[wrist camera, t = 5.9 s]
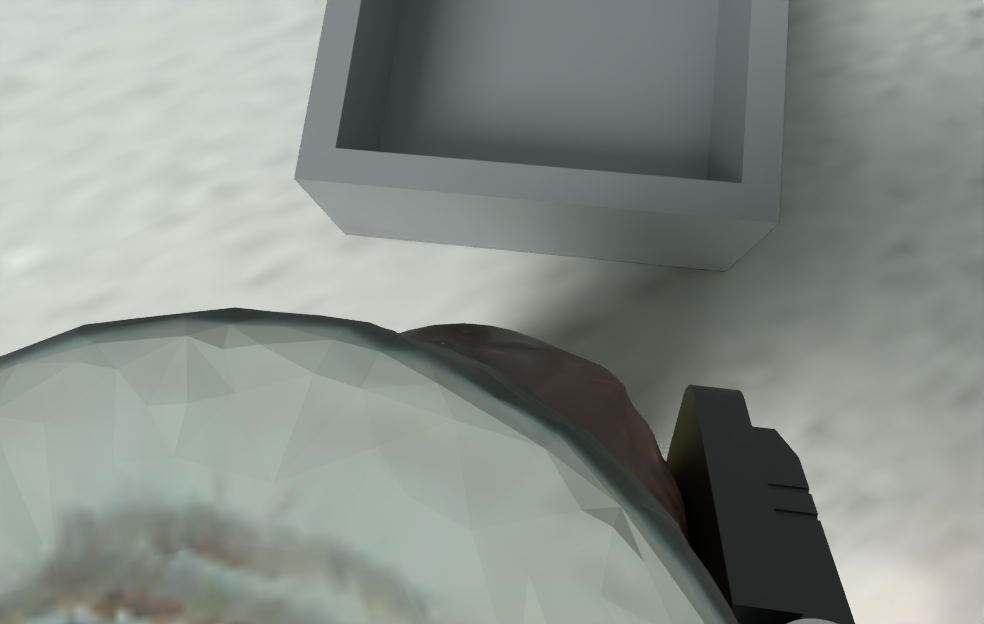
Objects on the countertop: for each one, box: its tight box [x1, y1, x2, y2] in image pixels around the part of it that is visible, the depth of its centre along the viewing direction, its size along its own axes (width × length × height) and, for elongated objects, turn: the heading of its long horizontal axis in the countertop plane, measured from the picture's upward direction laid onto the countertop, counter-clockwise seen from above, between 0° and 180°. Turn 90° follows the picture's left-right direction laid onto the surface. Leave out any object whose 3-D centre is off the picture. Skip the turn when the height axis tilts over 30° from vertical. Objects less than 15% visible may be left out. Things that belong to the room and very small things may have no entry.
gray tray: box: [294, 0, 789, 271], centre depth 21 cm, size 13×13×5 cm
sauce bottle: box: [0, 308, 738, 624], centre depth 12 cm, size 7×6×20 cm
